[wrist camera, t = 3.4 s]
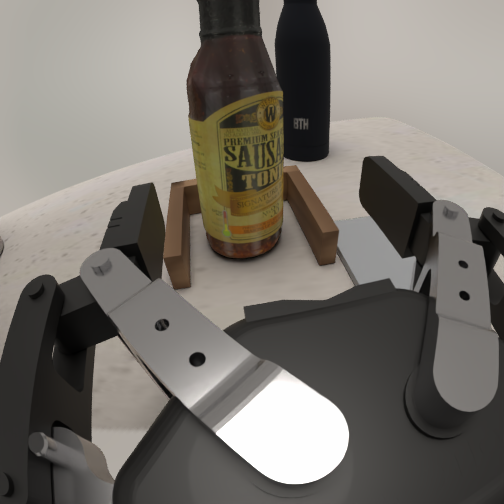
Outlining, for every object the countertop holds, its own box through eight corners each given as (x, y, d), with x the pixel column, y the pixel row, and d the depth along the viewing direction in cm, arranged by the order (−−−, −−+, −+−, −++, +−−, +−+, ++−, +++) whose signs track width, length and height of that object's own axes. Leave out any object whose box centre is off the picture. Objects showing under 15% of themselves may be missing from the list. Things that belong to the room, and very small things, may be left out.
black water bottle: (313, 140, 41) (305, -58, 21) (337, 157, 36) (333, -69, 17) (271, 147, 40) (257, -63, 20) (293, 165, 35) (280, -78, 15)
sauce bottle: (242, 276, 22) (207, -38, 9) (192, 239, 25) (148, -10, 12) (301, 233, 25) (297, -26, 12) (249, 206, 29) (229, -13, 16)
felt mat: (367, 310, 19) (369, 304, 18) (323, 228, 25) (323, 222, 25) (471, 279, 19) (474, 274, 19) (417, 214, 26) (418, 209, 26)
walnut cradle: (174, 289, 21) (163, 257, 19) (177, 209, 29) (171, 183, 27) (334, 262, 22) (339, 230, 20) (295, 192, 30) (296, 165, 28)
